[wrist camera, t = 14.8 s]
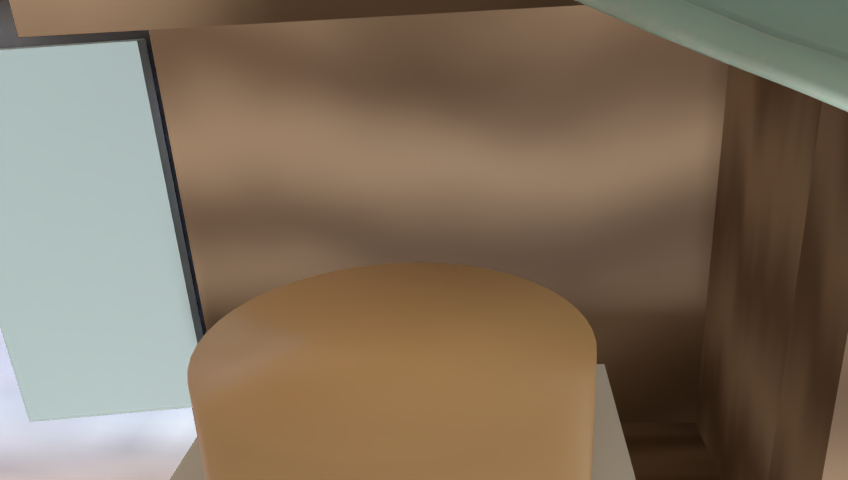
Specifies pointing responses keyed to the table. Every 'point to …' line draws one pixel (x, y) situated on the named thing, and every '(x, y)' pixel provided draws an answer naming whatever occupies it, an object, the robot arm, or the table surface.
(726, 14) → the planter
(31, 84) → the panel
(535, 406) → the peach pillar candle
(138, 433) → the table surface
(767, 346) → the brown open rectangular box
